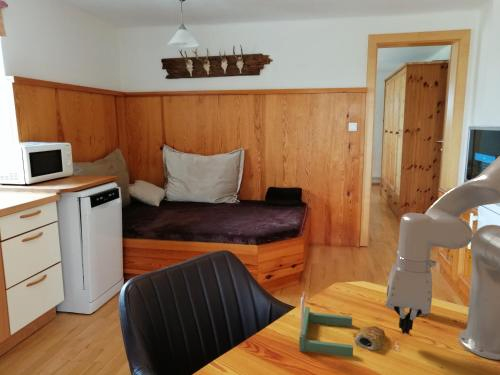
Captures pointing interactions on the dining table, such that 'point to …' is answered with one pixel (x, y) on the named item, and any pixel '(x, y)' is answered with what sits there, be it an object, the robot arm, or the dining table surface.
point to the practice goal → (319, 345)
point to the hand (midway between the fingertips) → (404, 330)
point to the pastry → (370, 337)
